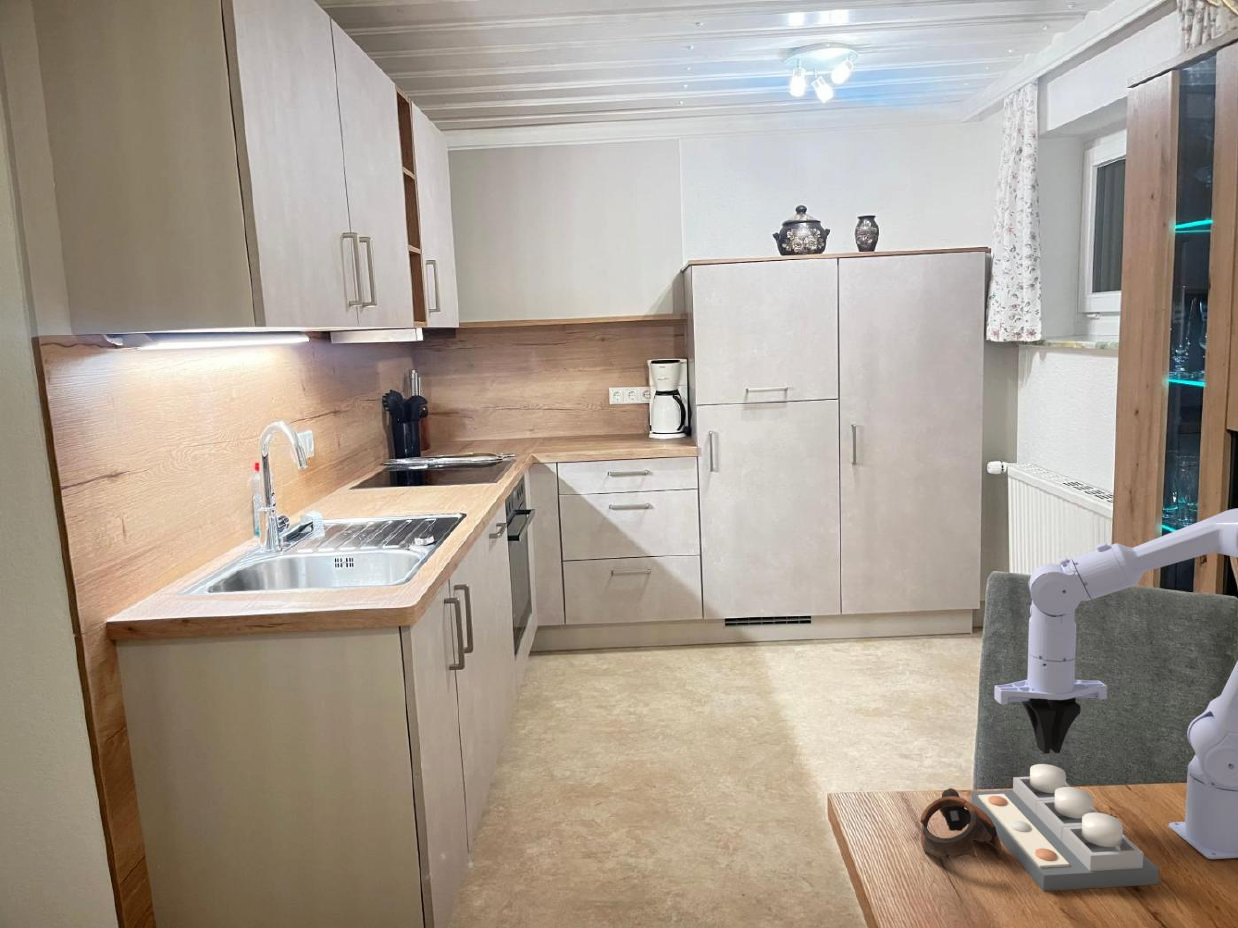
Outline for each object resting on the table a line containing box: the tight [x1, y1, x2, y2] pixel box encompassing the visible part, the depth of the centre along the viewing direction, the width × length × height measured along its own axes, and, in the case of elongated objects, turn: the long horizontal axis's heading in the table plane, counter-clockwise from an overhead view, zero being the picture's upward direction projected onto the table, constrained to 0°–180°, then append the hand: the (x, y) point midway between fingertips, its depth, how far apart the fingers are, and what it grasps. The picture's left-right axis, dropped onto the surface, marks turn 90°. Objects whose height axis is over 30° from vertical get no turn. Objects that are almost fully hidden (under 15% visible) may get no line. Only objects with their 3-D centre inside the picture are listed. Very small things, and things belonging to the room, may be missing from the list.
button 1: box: [1029, 763, 1067, 793], centre depth 123 cm, size 4×4×2 cm
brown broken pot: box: [920, 787, 1004, 861], centre depth 116 cm, size 12×10×8 cm
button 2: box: [1082, 812, 1124, 847], centre depth 110 cm, size 4×4×2 cm
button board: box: [970, 776, 1160, 892], centre depth 116 cm, size 14×20×4 cm
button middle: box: [1054, 786, 1094, 819], centre depth 116 cm, size 4×4×2 cm
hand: (1048, 749), depth 122 cm, fingers closed
